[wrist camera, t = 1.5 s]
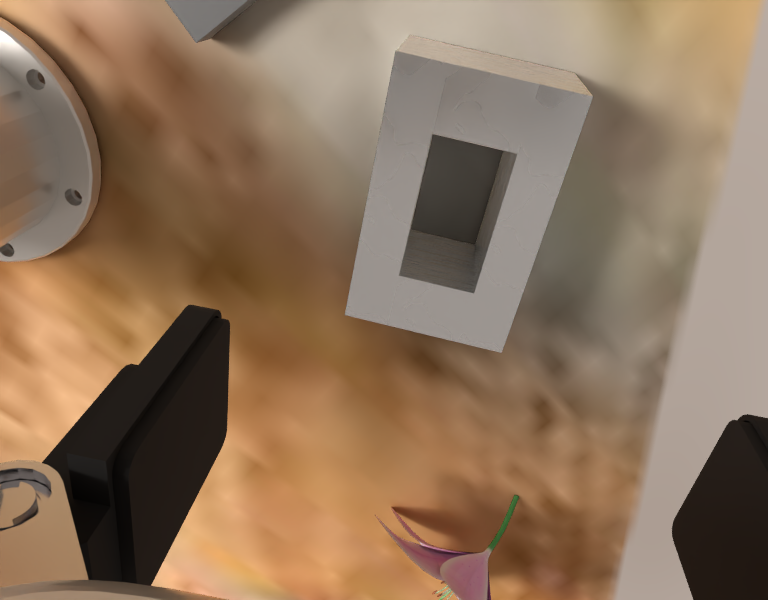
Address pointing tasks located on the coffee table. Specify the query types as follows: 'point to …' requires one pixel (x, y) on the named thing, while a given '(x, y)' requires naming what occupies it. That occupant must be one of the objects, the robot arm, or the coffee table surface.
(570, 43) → the coffee table surface
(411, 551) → the lily
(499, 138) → the slotted block
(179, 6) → the grey piece
